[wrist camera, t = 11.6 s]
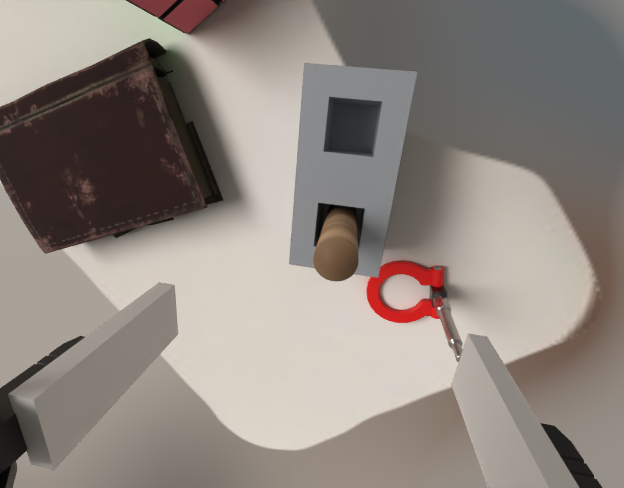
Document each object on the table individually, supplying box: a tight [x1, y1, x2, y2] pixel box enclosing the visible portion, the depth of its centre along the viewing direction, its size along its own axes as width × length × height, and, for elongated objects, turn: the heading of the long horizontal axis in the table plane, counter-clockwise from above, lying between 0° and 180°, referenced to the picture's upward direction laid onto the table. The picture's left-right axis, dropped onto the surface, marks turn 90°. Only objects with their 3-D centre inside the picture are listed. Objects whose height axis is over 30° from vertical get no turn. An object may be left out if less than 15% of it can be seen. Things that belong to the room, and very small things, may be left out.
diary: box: [0, 38, 223, 253], centre depth 38 cm, size 19×25×5 cm
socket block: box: [289, 63, 417, 278], centre depth 32 cm, size 18×9×8 cm, turn 175°
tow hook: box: [367, 261, 462, 362], centre depth 34 cm, size 8×13×9 cm
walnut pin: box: [313, 204, 359, 281], centre depth 28 cm, size 3×3×14 cm
